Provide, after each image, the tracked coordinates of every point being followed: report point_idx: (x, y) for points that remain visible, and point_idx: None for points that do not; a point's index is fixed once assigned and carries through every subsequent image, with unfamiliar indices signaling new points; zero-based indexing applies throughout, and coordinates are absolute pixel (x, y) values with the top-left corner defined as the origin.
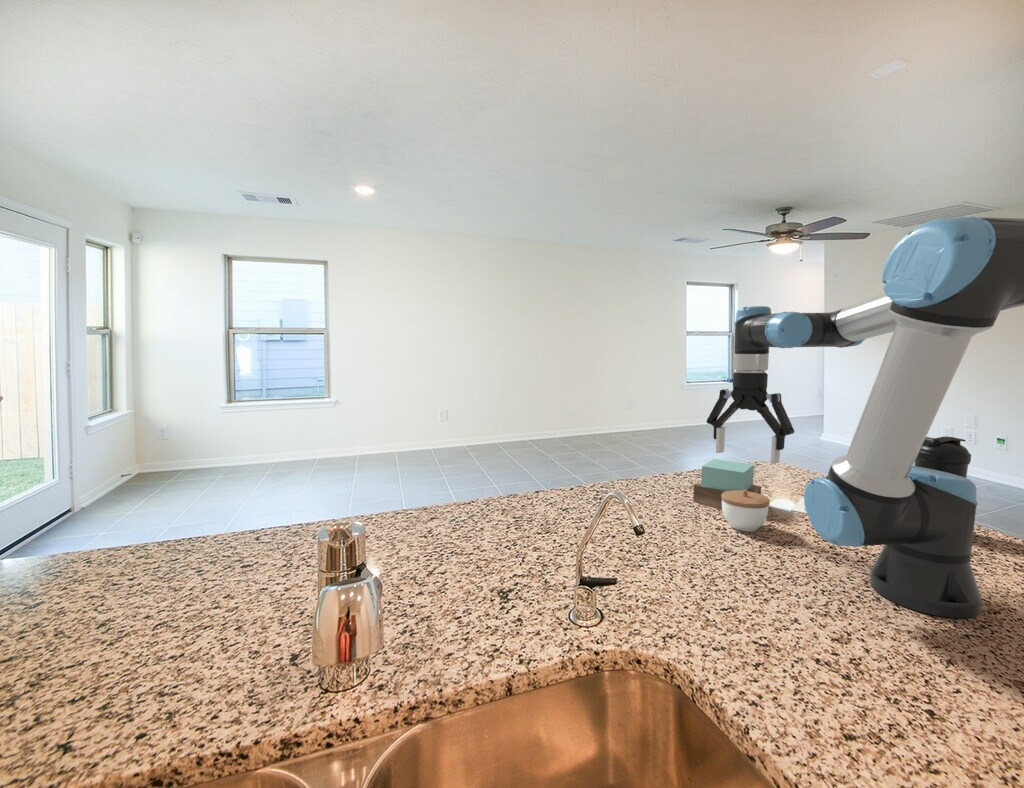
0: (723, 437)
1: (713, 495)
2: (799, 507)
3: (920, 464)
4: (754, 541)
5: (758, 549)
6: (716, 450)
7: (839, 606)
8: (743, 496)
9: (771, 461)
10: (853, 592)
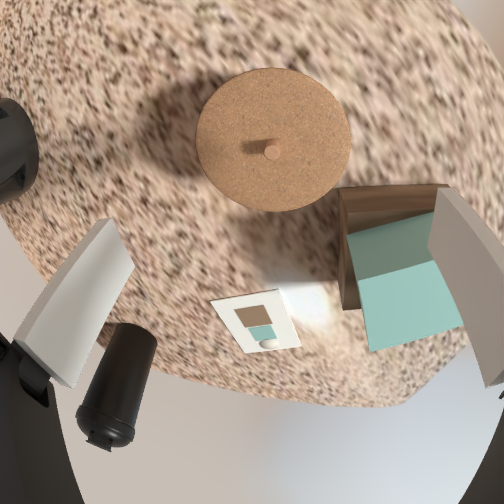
0: (467, 306)
1: (412, 200)
2: (276, 309)
3: (110, 408)
4: (198, 64)
5: (163, 38)
6: (457, 196)
7: (13, 27)
8: (273, 138)
9: (104, 224)
10: (21, 72)
